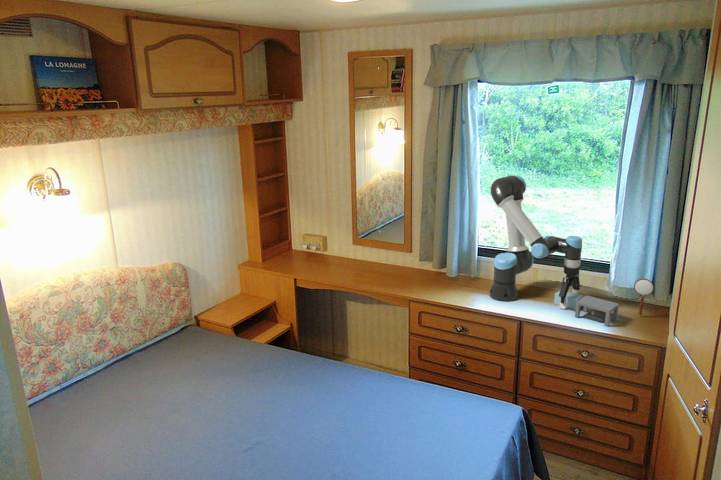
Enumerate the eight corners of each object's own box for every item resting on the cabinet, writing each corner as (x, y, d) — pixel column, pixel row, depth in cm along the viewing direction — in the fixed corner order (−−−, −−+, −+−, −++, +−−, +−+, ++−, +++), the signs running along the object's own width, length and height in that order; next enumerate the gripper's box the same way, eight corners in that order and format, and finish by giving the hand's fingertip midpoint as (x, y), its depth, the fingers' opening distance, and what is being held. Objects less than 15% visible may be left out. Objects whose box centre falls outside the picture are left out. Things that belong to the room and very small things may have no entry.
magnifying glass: (649, 317, 260) (655, 279, 254) (649, 319, 258) (655, 280, 253) (630, 314, 264) (635, 276, 259) (629, 315, 263) (635, 277, 257)
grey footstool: (574, 317, 262) (576, 301, 260) (584, 310, 270) (586, 295, 268) (607, 326, 252) (609, 310, 249) (617, 319, 259) (619, 303, 257)
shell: (554, 303, 278) (555, 293, 277) (560, 300, 283) (561, 289, 281) (576, 310, 270) (577, 299, 269) (582, 306, 275) (583, 295, 273)
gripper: (568, 273, 260) (564, 313, 266) (589, 261, 276) (585, 299, 282) (553, 270, 265) (550, 309, 271) (575, 258, 281) (571, 296, 287)
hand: (568, 304), depth 277 cm, fingers open, 12 cm apart
